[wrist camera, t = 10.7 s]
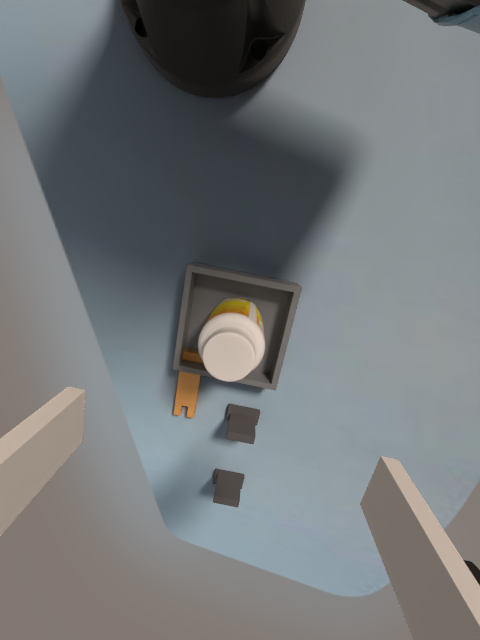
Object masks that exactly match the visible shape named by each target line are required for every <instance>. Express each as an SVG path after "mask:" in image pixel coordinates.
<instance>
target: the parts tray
mask: <svg viewBox="0 0 480 640" xmlns="http://www.w3.org/2000/svg"><path fill="white" fill-rule="evenodd" d="M301 289H302V287H301V286H300V285H299V284H298V283H294V282H289V281H284V280H279V279H274V278H269V277H264V276H259V275H254V274H249V273H244V272H239V271H234V270H229V269H224V268H219V267H214V266H209V265H204V264H199V263H194V262H193V263H190V264H187V267H186V274H185V282H184V289H183V296H182V304H181V311H180V318H179V325H178V333H177V340H176V347H175V355H174V362H173V369H172V370H177V371H182V372H187V373H192V374H197V375H202V376H207V377H212V378H215V377H213V376H212V375H211V374H210V373H209V372H208V371H207V369H206V368H205V366H204V363H203V362H202V363H199V362H193V361H188V360H183V353H184V350H185V349H190V350H195V351H199V350H198V340H199V335H200V333H201V330H202V328H203V327H204V325H205V323H206V322H207V320H208V318H209V317H210V315H211V313H212V312H213V310H214V308H215V307H216V306H217V305H218V304H219V303H220V302H221V301H223V300H225V299H227V298H231V297H241V298H245V299H247V300H249V301H251V302H252V303H254V304H255V305H256V306H257V308H258V309H259V311H260V313H261V316H262V321H263V329H264V338H265V351H264V355H263V358H262V360H261V362H260V363H259V364H258V366H257V367H256V368H255V369H254V370H252V371H251V372H250V373H249V374H248V375H247V376H245V377H244V378H242V379H240V380H237V381H232V382H237V383H242V384H247V385H252V386H257V387H262V388H267V389H272V390H276V387H277V383H278V379H279V375H280V371H281V367H282V363H283V360H284V356H285V352H286V348H287V344H288V340H289V336H290V332H291V328H292V324H293V320H294V316H295V312H296V308H297V304H298V300H299V297H300V293H301Z"/></svg>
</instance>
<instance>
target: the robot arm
mask: <svg viewBox="0 0 480 640" xmlns="http://www.w3.org/2000/svg"><path fill="white" fill-rule="evenodd" d="M120 1H121V4H122V7H123V10H124V13H125V16H126V18H127V21H128V23H129V26H130V28H131V30H132V32H133V34H134V35H135V37H136V39H137V41H138V43H139V44H140V46H141V48H142V49H143V51H144V53H145V54H146V56H147V58H148V59H149V60H150V62H151V63H152V65H153V66H154V67H155V68H156V69H157V70H158V71H159V73H160V74H161V75H162V76H164V77H165V78H166V79H167V80H168V81H170V82H171V83H172V84H174V85H175V86H177V87H178V88H180V89H182V90H184V91H186V92H189V93H192V94H194V95H198V96H203V97H212V98H218V97H227V96H232V95H236V94H239V93H241V92H244V91H246V90H248V89H250V88H252V87H254V86H255V85H257V84H258V83H260V82H261V81H262V80H264V79H265V78H266V77H267V76H268V75H269V74H270V73H271V72H272V71H273V70H274V69H275V68H276V67H277V66H278V64H279V63H280V62H281V61H282V59H283V58H284V56H285V55H286V53H287V51H288V50H289V48H290V46H291V44H292V42H293V40H294V38H295V36H296V33H297V31H298V28H299V25H300V22H301V18H302V14H303V10H304V5H305V0H120ZM403 1H405V2H407V3H409V4H411V5H413V6H415V7H417V8H419V9H420V10H422V11H424V12H426V13H428V16H429V17H430V18H431V19H432V20H433V21H434V22H435V23H437V24H438V25H442V26H454V25H457V26H460V27H463V28H466V29H469V30H471V31H474V32H476V33H479V34H480V0H403ZM85 393H86V391H85V390H83V389H78V388H74V387H67V388H66V389H65V390H63V391H62V392H60V393H59V394H58V395H56V396H55V397H54V398H53V399H51V400H50V401H49V402H47V403H46V404H45V405H44V406H42V407H41V408H40V409H38V410H37V411H36V412H34V413H33V414H32V415H31V416H29V417H28V418H27V419H25V420H24V421H23V422H21V423H20V424H19V425H18V426H16V427H15V428H14V429H12V430H11V431H10V432H8V433H7V434H6V435H4V436H3V437H2V438H1V439H0V536H1V535H2V534H3V533H4V532H5V530H6V529H7V528H8V527H9V526H10V525H11V523H12V522H13V521H14V520H15V519H16V518H17V517H18V515H19V514H20V513H21V512H22V511H23V510H24V509H25V507H26V506H27V505H28V504H29V503H30V502H31V500H32V499H33V498H34V497H35V496H36V495H37V494H38V492H39V491H40V490H41V489H42V488H43V487H44V486H45V484H46V483H47V482H48V481H49V480H50V479H51V477H52V476H53V475H54V474H55V473H56V472H57V471H58V469H59V468H60V467H61V466H62V465H63V464H64V462H65V461H66V460H67V459H68V458H69V457H70V455H71V454H72V453H73V452H74V451H75V450H76V449H77V448H78V446H79V445H80V444H81V443H82V435H83V421H84V407H85ZM360 505H361V508H362V510H363V513H364V515H365V518H366V520H367V523H368V525H369V528H370V531H371V533H372V536H373V538H374V541H375V543H376V546H377V548H378V551H379V553H380V556H381V558H382V561H383V563H384V566H385V569H386V571H387V574H388V576H389V579H390V581H391V583H392V586H393V589H394V591H395V594H396V596H397V599H398V601H399V604H400V607H401V609H402V611H403V614H404V617H405V619H406V622H407V624H408V627H409V629H410V632H411V634H412V637H413V639H414V640H480V570H479V569H478V568H477V567H476V566H475V565H474V564H473V563H472V562H470V561H466V560H463V559H462V558H461V556H460V554H459V553H458V551H457V550H456V548H455V547H454V545H453V544H452V543H451V541H450V539H449V538H448V536H447V534H446V533H445V531H444V530H443V528H442V527H441V525H440V524H439V522H438V521H437V519H436V518H435V516H434V514H433V513H432V511H431V510H430V508H429V507H428V505H427V504H426V502H425V501H424V499H423V497H422V496H421V494H420V493H419V491H418V490H417V488H416V487H415V485H414V484H413V482H412V481H411V479H410V477H409V476H408V474H407V473H406V471H405V470H404V468H403V467H402V465H401V464H400V462H399V460H397V459H392V458H388V457H383V456H381V457H380V459H379V462H378V464H377V466H376V469H375V471H374V473H373V475H372V478H371V480H370V482H369V485H368V487H367V489H366V492H365V494H364V496H363V499H362V501H361V503H360Z"/></svg>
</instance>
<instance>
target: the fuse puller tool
mask: <svg viewBox="0 0 480 640" xmlns="http://www.w3.org/2000/svg"><path fill="white" fill-rule="evenodd" d="M183 360H188V361H193V362H199V363H202V362H203V361H202V359H201V357H200V354H199V351H195V350H190V349H185V350H184V353H183ZM200 380H201V375H197V374H192V373H187V372H182V371H179V377H178V385H177V392H176V400H175V407H174V415H179V416H180V415H181V412H182V408H183V406H188V411H187V417H190V418H193V417H194V414H195V409H196V403H197V397H198V391H199V385H200Z"/></svg>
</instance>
